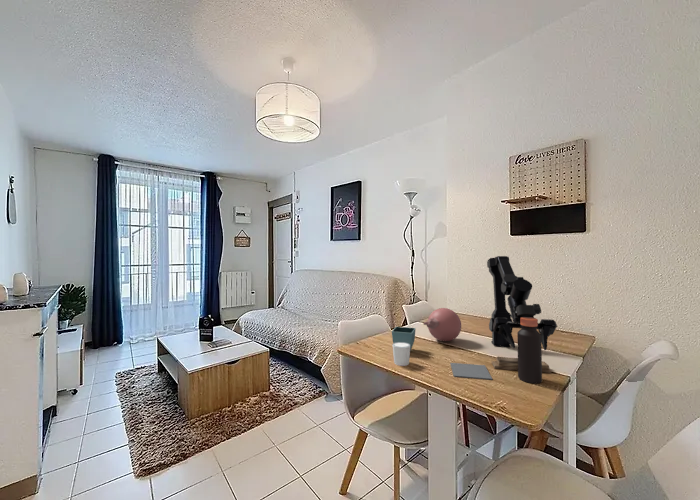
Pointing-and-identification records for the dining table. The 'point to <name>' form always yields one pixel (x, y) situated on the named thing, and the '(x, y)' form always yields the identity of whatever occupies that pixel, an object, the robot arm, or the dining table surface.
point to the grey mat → (470, 371)
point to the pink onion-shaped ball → (444, 324)
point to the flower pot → (403, 335)
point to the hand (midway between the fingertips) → (529, 348)
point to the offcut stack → (514, 364)
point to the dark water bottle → (529, 351)
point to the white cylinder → (401, 353)
